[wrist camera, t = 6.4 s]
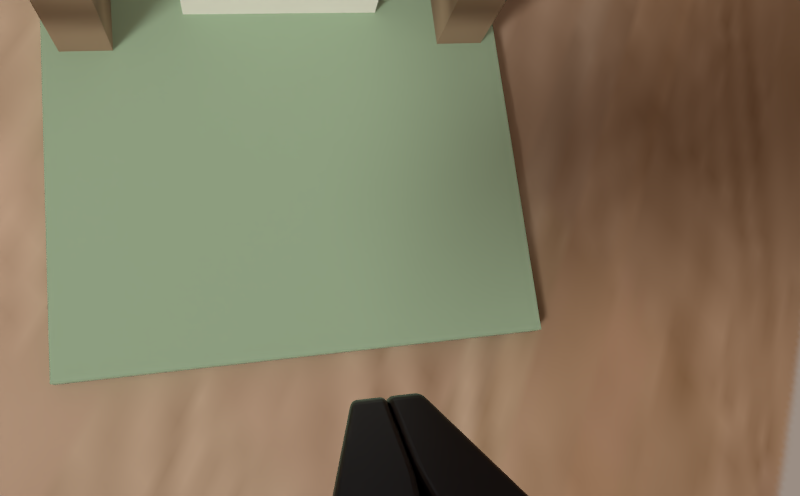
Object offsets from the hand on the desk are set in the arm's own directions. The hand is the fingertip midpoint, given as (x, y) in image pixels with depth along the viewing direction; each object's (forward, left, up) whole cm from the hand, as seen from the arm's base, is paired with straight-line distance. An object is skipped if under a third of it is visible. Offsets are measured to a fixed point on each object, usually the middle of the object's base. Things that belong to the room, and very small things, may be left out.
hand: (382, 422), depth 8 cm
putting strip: (+11, -7, -12) cm, 18 cm away
